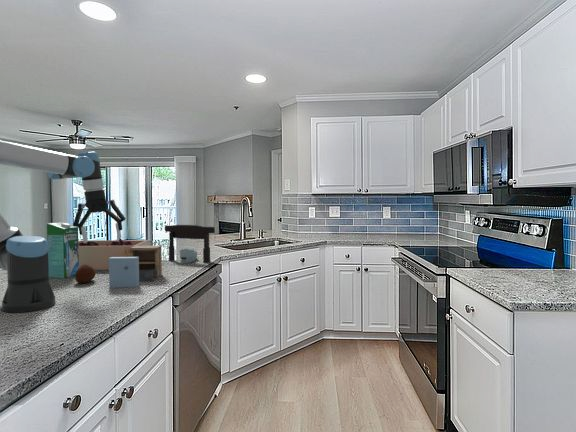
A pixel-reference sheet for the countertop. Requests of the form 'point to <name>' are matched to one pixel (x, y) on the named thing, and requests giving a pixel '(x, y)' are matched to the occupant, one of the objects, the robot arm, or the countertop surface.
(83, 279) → the potato
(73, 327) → the countertop surface
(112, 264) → the block
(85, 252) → the planter tray
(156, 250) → the cabinet
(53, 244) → the milk carton
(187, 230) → the stool
